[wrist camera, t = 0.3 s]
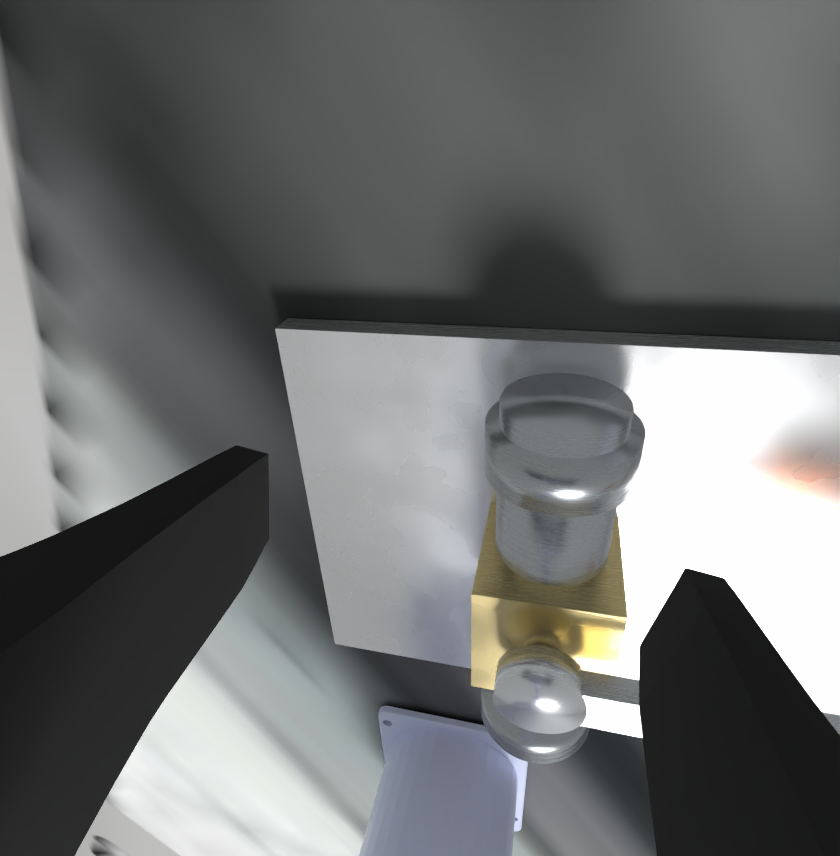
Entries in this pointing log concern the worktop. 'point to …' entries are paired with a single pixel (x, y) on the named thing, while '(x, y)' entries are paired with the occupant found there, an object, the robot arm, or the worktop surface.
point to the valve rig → (565, 492)
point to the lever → (568, 695)
